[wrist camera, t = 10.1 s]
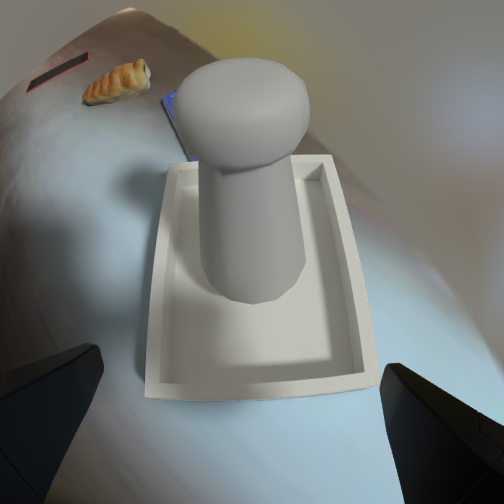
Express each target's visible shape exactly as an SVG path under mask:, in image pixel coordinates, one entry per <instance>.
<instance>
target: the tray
mask: <svg viewBox="0 0 504 504" xmlns="http://www.w3.org/2000/svg"><path fill="white" fill-rule="evenodd" d="M290 157H291V163H292V169H293V175H294V181H295V188H296V194H297V201H298V207H299V214H300V221H301V228H302V234H303V240H304V248H305V257H306V264H305V266H304V268H303V270H302V272H301V274H300V276H299V278H298V280H297V282H296V284H295V285H294V286H293V287H292V288H290V289H289V290H288V291H287V292H286V293H284V294H283V295H282V296H281V297H279V298H278V299H277V300H273V301H268V302H264V303H259V304H254V305H252V304H247V303H241V302H236V301H231V300H229V299H228V298H226V297H225V296H224V295H223V294H221V293H220V292H219V291H217V290H216V289H215V288H214V287H212V285H211V284H210V283H209V281H208V279H207V277H206V274H205V272H204V270H203V268H202V266H201V259H200V232H199V190H198V161H193V162H184V163H174V164H169V168H168V173H167V178H166V184H165V190H164V196H163V201H162V208H161V214H160V221H159V227H158V234H157V242H156V249H155V257H154V266H153V274H152V284H151V294H150V305H149V317H148V331H147V348H146V370H145V397H147V398H153V399H158V400H173V401H209V402H222V401H258V400H276V399H289V398H301V397H310V396H319V395H328V394H335V393H343V392H349V391H356V390H362V389H367V388H371V387H374V386H377V385H380V375H379V367H378V359H377V352H376V345H375V339H374V333H373V326H372V320H371V315H370V309H369V304H368V298H367V293H366V288H365V283H364V278H363V273H362V269H361V264H360V260H359V255H358V251H357V246H356V242H355V238H354V234H353V230H352V226H351V222H350V218H349V214H348V210H347V207H346V203H345V199H344V196H343V192H342V189H341V185H340V182H339V178H338V175H337V171H336V168H335V165H334V162H333V158H332V155H290Z"/></svg>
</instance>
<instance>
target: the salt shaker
mask: <svg viewBox="0 0 504 504" xmlns="http://www.w3.org/2000/svg"><path fill="white" fill-rule="evenodd" d="M172 117H173V122H174V125H175V128H176V131H177V134H178V136H179V138H180V140H181V142H182V144H183V145H184V147H185V149H186V151H187V152H188V153H189V154H190V156H191V157H193V158H195V159H197V160H198V190H199V232H200V259H201V266H202V268H203V270H204V272H205V274H206V277H207V279H208V281H209V283H210V284H211V285H212V287H214V288H215V289H216V290H217V291H219V292H220V293H221V294H223V295H224V296H225V297H226V298H228V299H229V300H231V301H236V302H241V303H247V304H252V305H254V304H259V303H264V302H268V301H273V300H277V299H278V298H279V297H281V296H282V295H283V294H284V293H286V292H287V291H288V290H289V289H290V288H292V287H293V286H294V285H295V284H296V282H297V280H298V278H299V276H300V274H301V272H302V270H303V268H304V266H305V264H306V257H305V248H304V240H303V234H302V228H301V221H300V214H299V207H298V201H297V194H296V188H295V181H294V175H293V169H292V163H291V157H290V154H292V153H293V152H294V150H295V148H296V147H297V145H298V144H299V142H300V140H301V139H302V137H303V136H304V134H305V132H306V131H307V128H308V123H309V118H310V108H309V99H308V94H307V91H306V87H305V84H304V82H303V81H302V80H301V79H300V78H299V77H298V76H296V75H295V74H294V73H293V72H291V71H290V70H289V69H288V68H286V67H285V66H283V65H282V64H279V63H276V62H272V61H269V60H266V59H260V58H242V57H240V58H233V59H226V60H220V61H216V62H213V63H211V64H208V65H205V66H202V67H200V68H198V69H197V70H195V71H194V72H193V73H191V74H190V75H189V76H188V77H186V78H185V79H184V80H183V82H182V83H181V84H180V86H179V87H178V89H177V91H176V93H175V96H174V98H173V101H172Z"/></svg>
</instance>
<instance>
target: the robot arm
mask: <svg viewBox="0 0 504 504" xmlns="http://www.w3.org/2000/svg"><path fill="white" fill-rule="evenodd" d="M103 372H104V364H103V360H102V356H101V352H100V349H99V347H98V346H97V345H95V344H90V343H85V344H82V345H80V346H77V347H74V348H72V349H69V350H66V351H64V352H61V353H58V354H56V355H53V356H50V357H47V358H45V359H42V360H39V361H36V362H34V363H31V364H28V365H25V366H22V367H20V368H17V369H14V370H11V371H8V372H6V373H4V374H0V504H43V502H44V500H45V497H46V495H47V493H48V491H49V488H50V486H51V484H52V482H53V480H54V477H55V475H56V473H57V471H58V469H59V467H60V465H61V462H62V460H63V458H64V456H65V454H66V452H67V450H68V448H69V446H70V444H71V442H72V440H73V438H74V436H75V434H76V432H77V430H78V428H79V426H80V424H81V422H82V420H83V418H84V416H85V415H86V413H87V411H88V409H89V406H90V404H91V402H92V399H93V397H94V394H95V392H96V389H97V387H98V384H99V382H100V379H101V377H102V374H103ZM380 396H381V402H382V408H383V414H384V420H385V426H386V432H387V436H388V439H389V443H390V447H391V450H392V454H393V458H394V462H395V465H396V469H397V473H398V477H399V481H400V485H401V490H402V494H403V498H404V503H405V504H504V426H503V425H501V424H499V423H497V422H495V421H494V420H492V419H490V418H488V417H487V416H485V415H483V414H482V413H480V412H478V411H477V410H475V409H473V408H472V407H470V406H469V405H467V404H465V403H464V402H462V401H460V400H459V399H457V398H455V397H454V396H452V395H451V394H449V393H447V392H446V391H444V390H442V389H441V388H439V387H438V386H436V385H434V384H433V383H431V382H429V381H428V380H426V379H425V378H423V377H421V376H420V375H418V374H417V373H415V372H413V371H412V370H410V369H409V368H407V367H405V366H404V365H402V364H401V363H389V364H387V365H386V367H385V369H384V373H383V376H382V380H381V383H380Z"/></svg>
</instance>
